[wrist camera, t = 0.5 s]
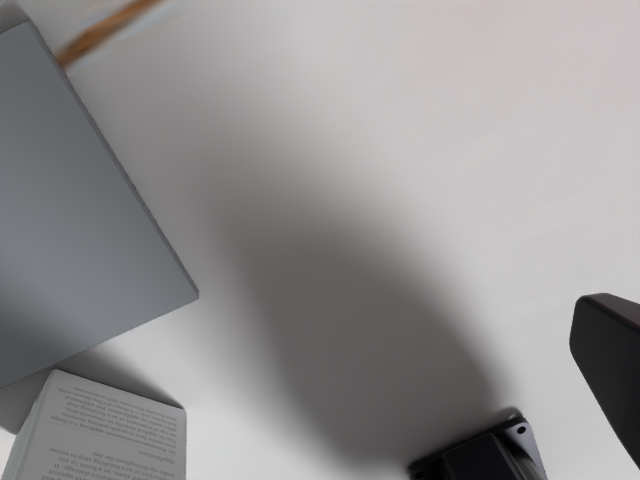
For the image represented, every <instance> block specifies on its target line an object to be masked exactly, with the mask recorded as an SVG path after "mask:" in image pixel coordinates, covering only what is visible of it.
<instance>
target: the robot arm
mask: <svg viewBox="0 0 640 480" xmlns="http://www.w3.org/2000/svg"><path fill="white" fill-rule="evenodd" d="M569 344H570V351H571V354H572V356H573V358H574V360H575V362H576V364H577V365H578V367H579V369H580V371H581V373H582V374H583V376H584V378H585V380H586V382H587V384H588V385H589V387H590V389H591V391H592V393H593V394H594V396H595V398H596V400H597V402H598V403H599V405H600V407H601V409H602V411H603V412H604V414H605V416H606V418H607V420H608V422H609V423H610V425H611V427H612V428H613V430H614V432H615V433H616V435H617V437H618V438H619V440H620V442H621V443H622V445H623V446H624V448H625V449H626V451H627V452H628V454H629V455H630V457H631V458H632V459H633V461H634V462H635V464H636V465H637V467H638V468H639V470H640V304H638V303H635V302H632V301H629V300H626V299H623V298H620V297H617V296H614V295H611V294H608V293H598V294H591V295H584V296H581V297H580V298H579V299H578V300H577V302H576V304H575V309H574V315H573V321H572V327H571V333H570V340H569ZM408 474H409V477H410V479H411V480H547V476H546V473H545V470H544V467H543V464H542V461H541V457H540V454H539V451H538V448H537V445H536V441H535V438H534V435H533V432H532V429H531V426H530V424H529V423H528V422H527V420H526V419H525V418H524V417H517V418H514V419H512V420H510V421H507V422H505V423H503V424H501V425H498V426H496V427H494V428H492V429H489V430H487V431H485V432H483V433H480V434H478V435H476V436H474V437H471V438H469V439H467V440H465V441H462V442H460V443H458V444H456V445H453V446H451V447H449V448H447V449H444V450H442V451H440V452H437V453H435V454H433V455H431V456H428V457H426V458H424V459H422V460H419V461H417V462H415V463H413V464H412V465H410V466H409V468H408Z"/></svg>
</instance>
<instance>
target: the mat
mask: <svg viewBox="0 0 640 480" xmlns="http://www.w3.org/2000/svg"><path fill="white" fill-rule="evenodd" d="M197 299H199V291H198V289H197V287H196V286H195V284H194V283H193V281H192V279H191V278H190V276H189V275H188V273H187V271H186V270H185V268H184V266H183V265H182V263H181V262H180V260H179V258H178V257H177V255H176V253H175V252H174V250H173V249H172V247H171V245H170V244H169V242H168V241H167V239H166V237H165V236H164V234H163V232H162V231H161V229H160V228H159V226H158V224H157V223H156V221H155V219H154V218H153V216H152V215H151V213H150V211H149V210H148V208H147V207H146V205H145V203H144V202H143V200H142V198H141V197H140V195H139V194H138V192H137V190H136V189H135V187H134V185H133V184H132V182H131V181H130V179H129V177H128V176H127V174H126V173H125V171H124V169H123V168H122V166H121V164H120V163H119V161H118V160H117V158H116V156H115V155H114V153H113V151H112V150H111V148H110V147H109V145H108V143H107V142H106V140H105V139H104V137H103V135H102V134H101V132H100V130H99V129H98V127H97V126H96V124H95V122H94V121H93V119H92V117H91V116H90V114H89V113H88V111H87V109H86V108H85V106H84V105H83V103H82V101H81V100H80V98H79V96H78V95H77V93H76V92H75V90H74V88H73V87H72V85H71V83H70V82H69V80H68V79H67V77H66V75H65V74H64V72H63V71H62V69H61V67H60V66H59V64H58V62H57V61H56V59H55V58H54V56H53V54H52V53H51V51H50V49H49V48H48V46H47V45H46V43H45V41H44V40H43V38H42V37H41V35H40V33H39V32H38V30H37V28H36V27H35V25H34V24H33V22H32V20H28V21H26V22H24V23H22V24H20V25H18V26H15V27H13V28H11V29H9V30H7V31H5V32H3V33H0V389H1V388H3V387H5V386H7V385H10V384H12V383H14V382H16V381H18V380H21V379H23V378H25V377H27V376H29V375H32V374H34V373H36V372H38V371H41V370H43V369H45V368H47V367H49V366H52V365H54V364H56V363H58V362H60V361H63V360H65V359H67V358H69V357H71V356H74V355H76V354H78V353H80V352H82V351H85V350H87V349H89V348H91V347H93V346H96V345H98V344H100V343H102V342H105V341H107V340H109V339H111V338H113V337H116V336H118V335H120V334H122V333H124V332H127V331H129V330H131V329H133V328H135V327H138V326H140V325H142V324H144V323H146V322H149V321H151V320H153V319H155V318H157V317H160V316H162V315H164V314H166V313H169V312H171V311H173V310H175V309H177V308H180V307H182V306H184V305H186V304H188V303H191V302H193V301H195V300H197Z"/></svg>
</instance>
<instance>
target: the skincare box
mask: <svg viewBox="0 0 640 480" xmlns="http://www.w3.org/2000/svg"><path fill="white" fill-rule="evenodd" d="M186 446H187V414H186V411H185V410H183V409H180V408H176V407H173V406H169V405H166V404H163V403H160V402H157V401H154V400H151V399H148V398H145V397H142V396H138V395H135V394H132V393H129V392H126V391H123V390H119V389H116V388H113V387H110V386H107V385H104V384H101V383H98V382H94V381H91V380H88V379H85V378H82V377H79V376H76V375H73V374H69V373H66V372H63V371H61V370H58V369H53V370H52V371H51V372H50V374H49V376H48V378H47V380H46V382H45V384H44V386H43V387H42V389H41V391H40V393H39V395H38V396H37V398H36V400H35V402H34V404H33V406H32V408H31V410H30V412H29V414H28V416H27V418H26V420H25V422H24V424H23V425H22V427H21V429H20V431H19V433H18V435H17V436H16V439H15V441H14V444H13V446H12V449H11V452H10V455H9V458H8V461H7V464H6V467H5V469H4V472H3V475H2V478H1V480H186Z"/></svg>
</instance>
